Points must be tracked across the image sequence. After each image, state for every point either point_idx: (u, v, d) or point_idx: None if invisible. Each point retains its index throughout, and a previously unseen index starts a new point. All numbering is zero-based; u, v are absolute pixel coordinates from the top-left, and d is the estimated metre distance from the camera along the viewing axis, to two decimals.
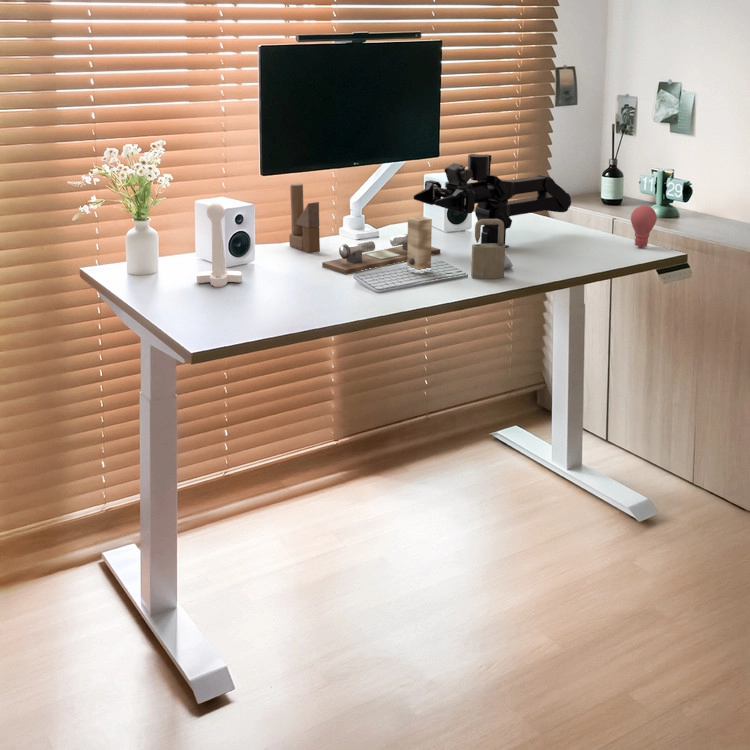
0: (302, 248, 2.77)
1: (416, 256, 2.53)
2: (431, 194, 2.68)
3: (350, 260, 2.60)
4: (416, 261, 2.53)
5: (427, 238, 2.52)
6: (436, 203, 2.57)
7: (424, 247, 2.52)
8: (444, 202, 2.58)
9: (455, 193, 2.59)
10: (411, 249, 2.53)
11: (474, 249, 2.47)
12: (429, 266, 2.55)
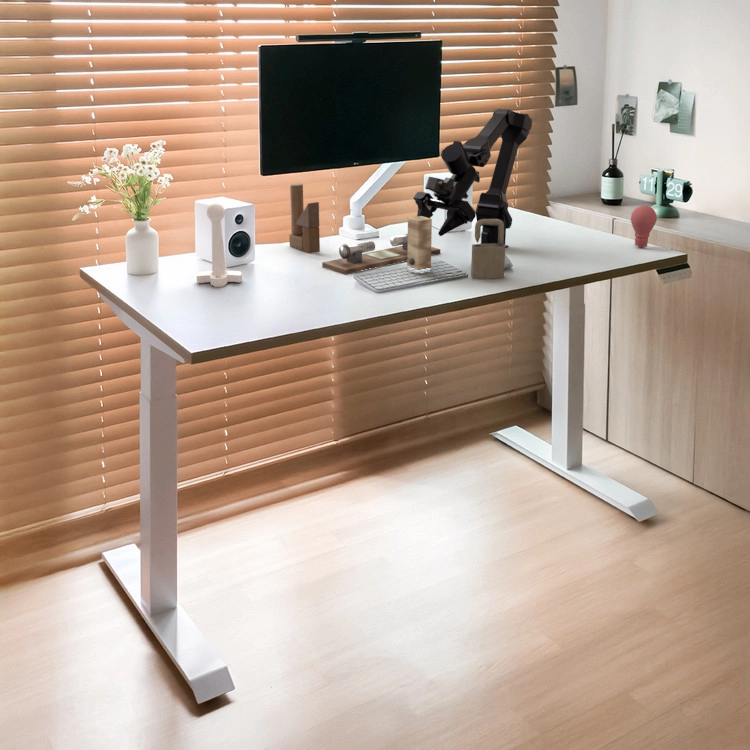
0: (302, 248, 2.77)
1: (416, 256, 2.53)
2: (426, 209, 2.59)
3: (350, 260, 2.60)
4: (416, 261, 2.53)
5: (427, 238, 2.52)
6: (440, 234, 2.51)
7: (424, 247, 2.52)
8: (446, 228, 2.51)
9: (450, 212, 2.50)
10: (411, 249, 2.53)
11: (474, 249, 2.47)
12: (429, 266, 2.55)
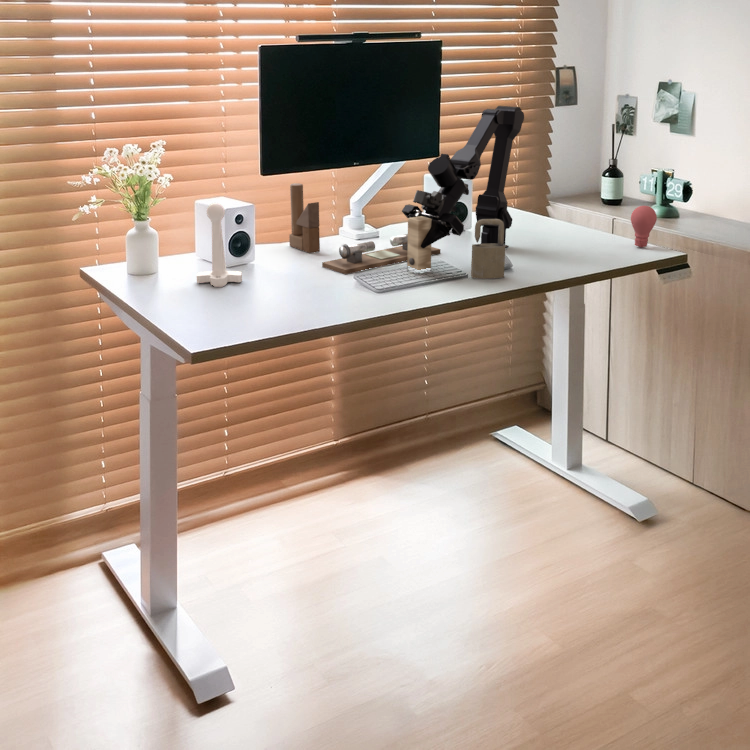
0: (302, 248, 2.77)
1: (416, 256, 2.53)
2: None
3: (350, 260, 2.60)
4: (416, 261, 2.53)
5: None
6: (423, 247, 2.51)
7: None
8: (429, 240, 2.51)
9: (433, 225, 2.50)
10: (411, 249, 2.53)
11: (474, 249, 2.47)
12: (429, 266, 2.55)
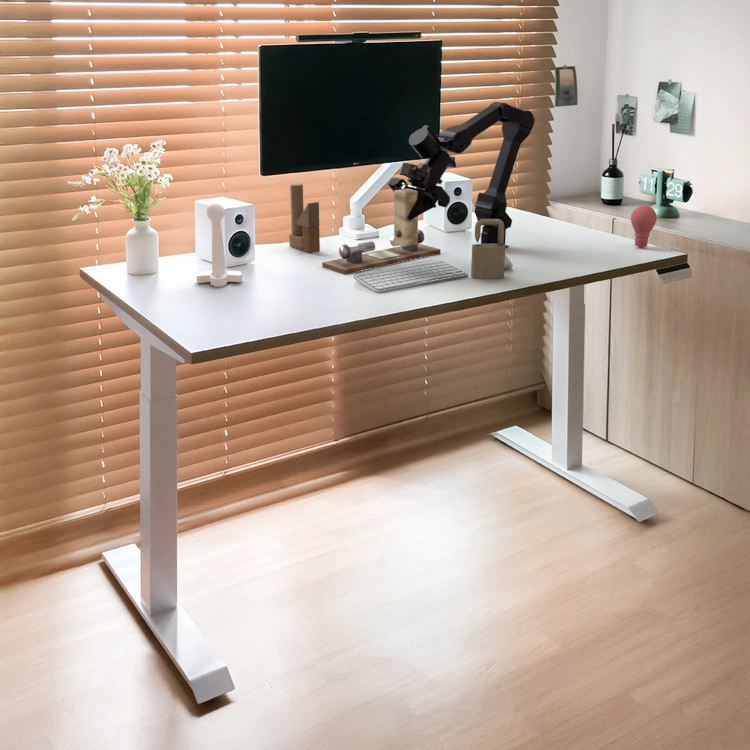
0: (302, 248, 2.77)
1: (402, 228, 2.54)
2: None
3: (350, 260, 2.60)
4: (403, 233, 2.55)
5: None
6: (409, 219, 2.53)
7: None
8: (415, 212, 2.53)
9: (419, 197, 2.52)
10: (398, 222, 2.55)
11: (474, 249, 2.47)
12: (416, 238, 2.57)
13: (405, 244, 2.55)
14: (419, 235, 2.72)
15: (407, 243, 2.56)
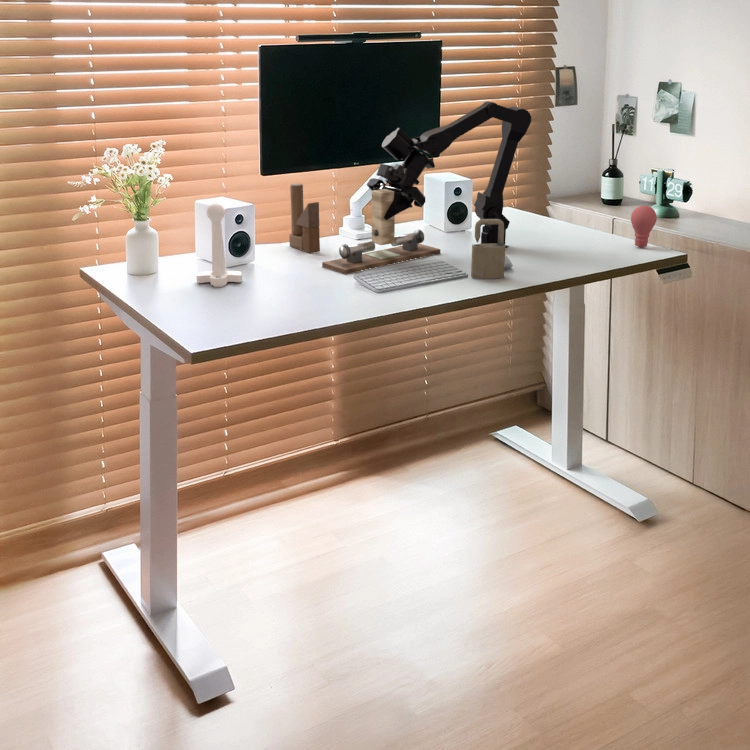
0: (302, 248, 2.77)
1: (379, 227, 2.62)
2: None
3: (350, 260, 2.60)
4: (380, 232, 2.62)
5: None
6: (386, 218, 2.60)
7: None
8: (392, 212, 2.60)
9: (395, 197, 2.59)
10: (375, 221, 2.63)
11: (474, 249, 2.47)
12: (393, 237, 2.64)
13: (382, 243, 2.63)
14: (419, 235, 2.72)
15: (384, 242, 2.63)
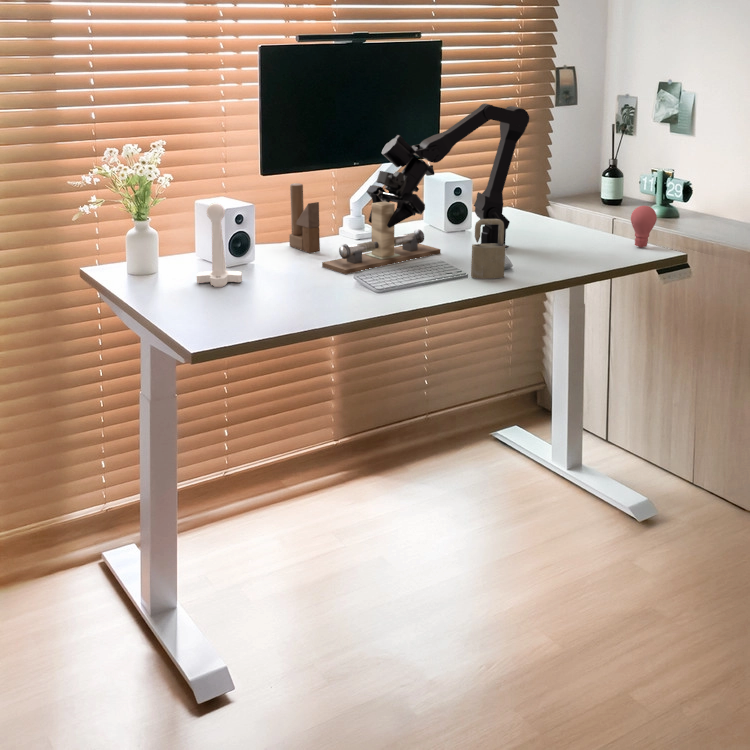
0: (302, 248, 2.77)
1: (379, 240, 2.63)
2: None
3: (350, 260, 2.60)
4: (380, 245, 2.63)
5: None
6: (389, 226, 2.60)
7: (387, 231, 2.63)
8: (395, 220, 2.60)
9: (398, 205, 2.59)
10: (375, 233, 2.64)
11: (474, 249, 2.47)
12: (392, 249, 2.66)
13: (382, 255, 2.64)
14: (419, 235, 2.72)
15: (384, 254, 2.64)
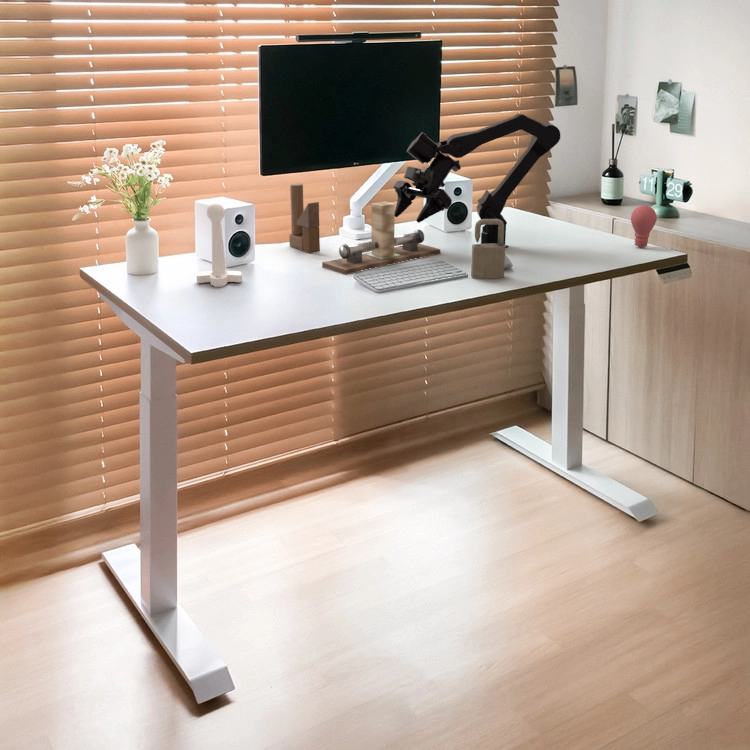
0: (302, 248, 2.77)
1: (379, 240, 2.63)
2: (406, 197, 2.73)
3: (350, 260, 2.60)
4: (380, 245, 2.63)
5: (390, 222, 2.62)
6: (418, 221, 2.65)
7: (387, 231, 2.63)
8: (424, 215, 2.65)
9: (428, 200, 2.64)
10: (375, 233, 2.64)
11: (474, 249, 2.47)
12: (392, 249, 2.66)
13: (382, 255, 2.64)
14: (419, 235, 2.72)
15: (384, 254, 2.64)
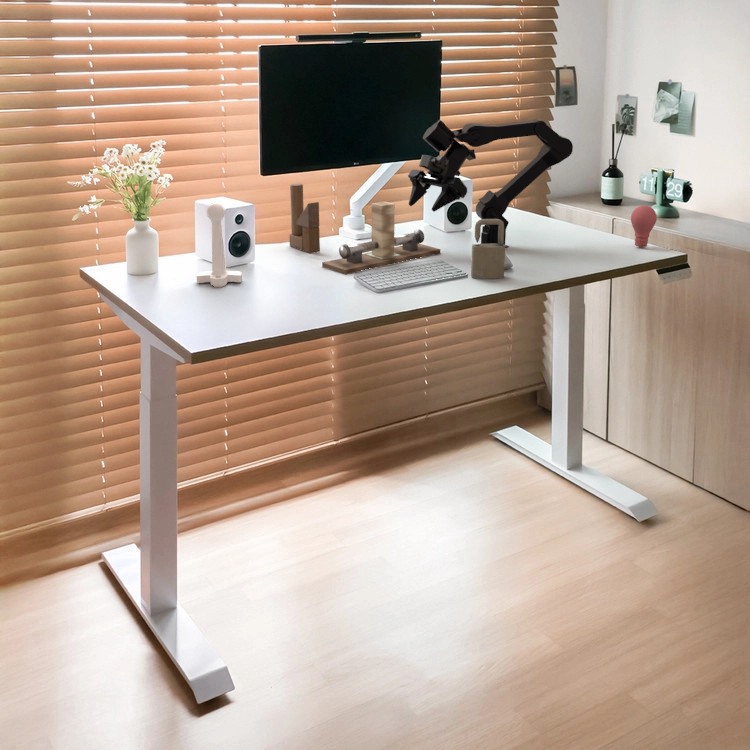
0: (302, 248, 2.77)
1: (379, 240, 2.63)
2: (420, 186, 2.70)
3: (350, 260, 2.60)
4: (380, 245, 2.63)
5: (390, 222, 2.62)
6: (434, 210, 2.62)
7: (387, 231, 2.63)
8: (439, 203, 2.62)
9: (443, 189, 2.61)
10: (375, 233, 2.64)
11: (474, 249, 2.47)
12: (392, 249, 2.66)
13: (382, 255, 2.64)
14: (419, 235, 2.72)
15: (384, 254, 2.64)
